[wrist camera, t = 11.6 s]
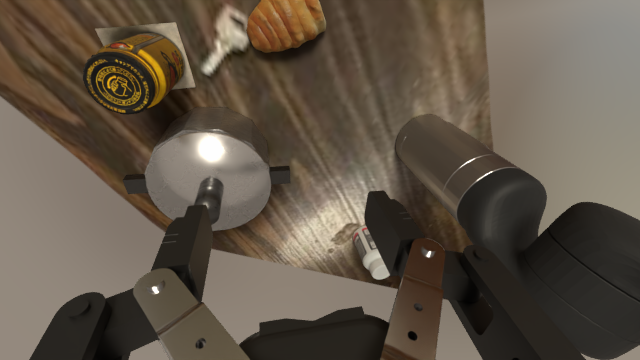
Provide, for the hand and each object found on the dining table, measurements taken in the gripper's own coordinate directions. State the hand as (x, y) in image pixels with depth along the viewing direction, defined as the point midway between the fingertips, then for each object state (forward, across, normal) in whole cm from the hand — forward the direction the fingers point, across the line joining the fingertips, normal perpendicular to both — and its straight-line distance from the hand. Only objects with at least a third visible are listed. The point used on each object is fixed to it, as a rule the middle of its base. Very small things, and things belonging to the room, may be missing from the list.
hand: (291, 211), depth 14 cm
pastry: (+28, -3, -7) cm, 30 cm away
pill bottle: (+28, -18, +31) cm, 45 cm away
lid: (+21, +8, +11) cm, 25 cm away
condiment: (+28, +14, -2) cm, 32 cm away
